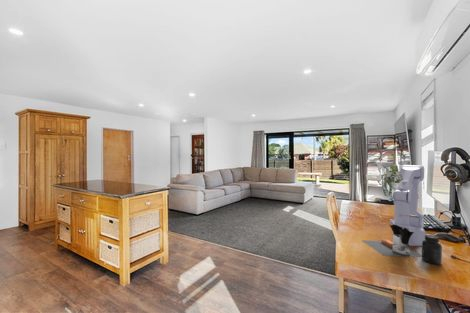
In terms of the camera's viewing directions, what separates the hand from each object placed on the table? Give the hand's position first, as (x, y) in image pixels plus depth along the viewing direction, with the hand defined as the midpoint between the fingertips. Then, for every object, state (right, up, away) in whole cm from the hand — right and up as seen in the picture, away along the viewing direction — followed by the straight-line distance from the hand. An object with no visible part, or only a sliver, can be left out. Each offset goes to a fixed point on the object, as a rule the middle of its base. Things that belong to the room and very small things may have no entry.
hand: (401, 241), depth 109 cm
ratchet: (0, -6, +5) cm, 7 cm away
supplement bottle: (+7, -6, -9) cm, 13 cm away
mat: (-1, -6, +6) cm, 8 cm away
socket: (0, -2, 0) cm, 2 cm away
